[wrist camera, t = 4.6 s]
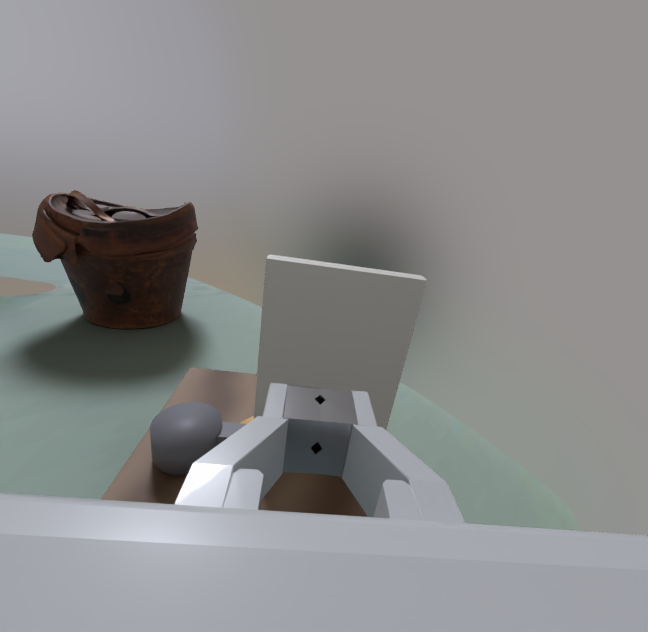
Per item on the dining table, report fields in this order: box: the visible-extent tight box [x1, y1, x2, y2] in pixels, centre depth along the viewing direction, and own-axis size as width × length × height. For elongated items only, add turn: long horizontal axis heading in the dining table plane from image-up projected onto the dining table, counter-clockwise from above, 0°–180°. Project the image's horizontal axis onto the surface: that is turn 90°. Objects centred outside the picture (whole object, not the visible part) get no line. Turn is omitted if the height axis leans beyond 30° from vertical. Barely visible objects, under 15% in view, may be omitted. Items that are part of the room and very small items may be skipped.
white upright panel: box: [150, 255, 427, 475], centre depth 23 cm, size 18×5×16 cm, turn 92°
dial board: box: [101, 367, 368, 517], centre depth 29 cm, size 20×18×2 cm
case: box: [32, 191, 198, 329], centre depth 46 cm, size 18×20×18 cm
